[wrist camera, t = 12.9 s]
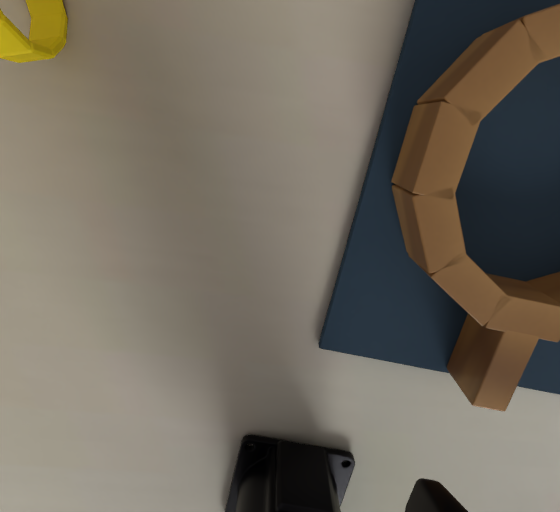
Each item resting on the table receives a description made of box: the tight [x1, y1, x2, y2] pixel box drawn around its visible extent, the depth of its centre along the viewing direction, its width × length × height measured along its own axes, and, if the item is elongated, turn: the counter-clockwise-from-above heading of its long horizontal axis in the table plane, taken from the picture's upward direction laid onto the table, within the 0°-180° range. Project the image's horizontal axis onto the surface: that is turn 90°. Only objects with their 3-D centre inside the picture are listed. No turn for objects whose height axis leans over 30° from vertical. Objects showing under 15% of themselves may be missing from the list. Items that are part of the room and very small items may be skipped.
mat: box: [319, 0, 560, 394], centre depth 18 cm, size 20×15×1 cm
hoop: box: [391, 4, 560, 411], centre depth 17 cm, size 17×13×3 cm
